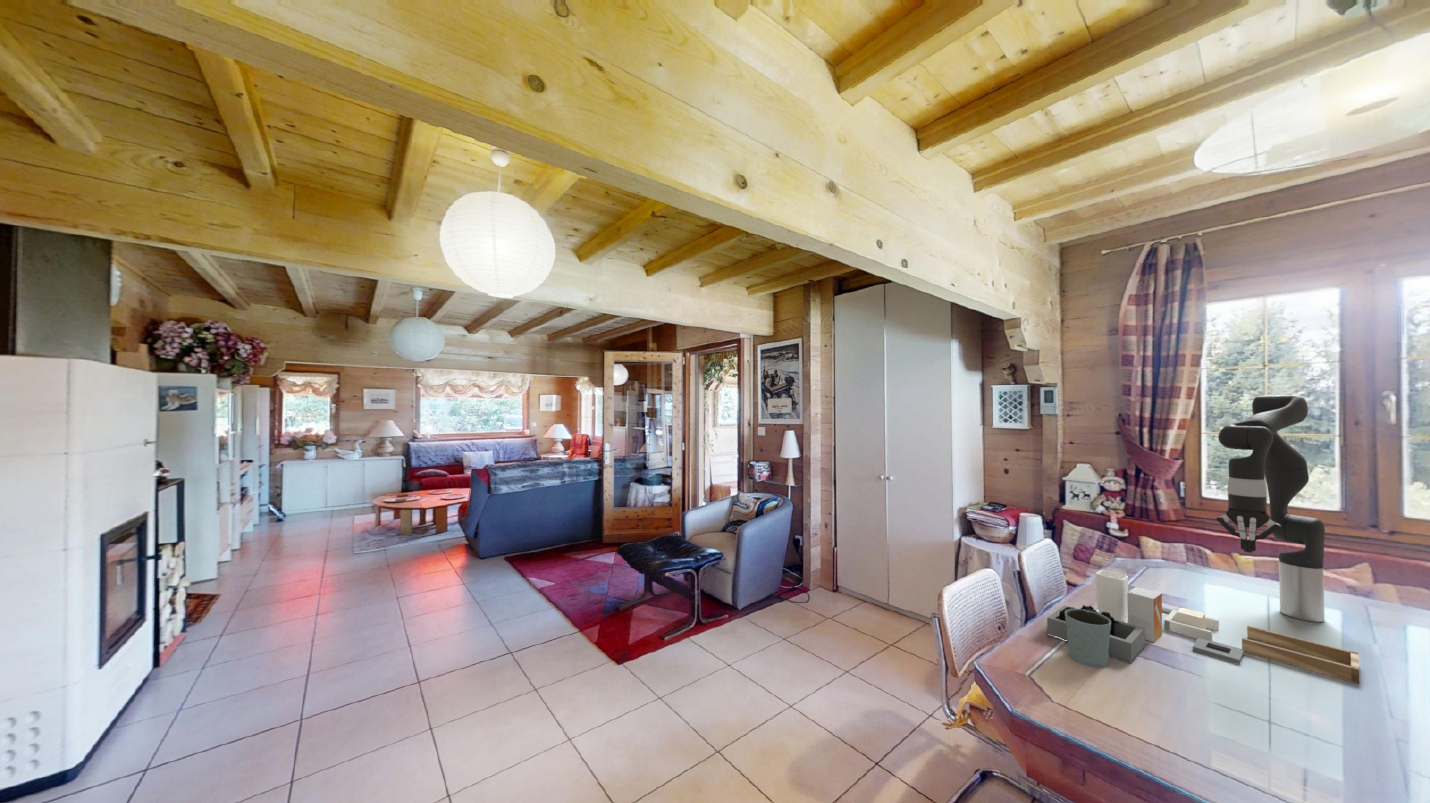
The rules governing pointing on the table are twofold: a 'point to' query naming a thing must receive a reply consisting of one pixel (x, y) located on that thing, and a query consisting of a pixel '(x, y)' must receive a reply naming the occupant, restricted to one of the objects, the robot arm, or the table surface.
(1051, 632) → the grey rectangular planter box
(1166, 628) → the cream bay
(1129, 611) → the small box
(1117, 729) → the table surface
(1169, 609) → the crook tool
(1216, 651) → the hole frame
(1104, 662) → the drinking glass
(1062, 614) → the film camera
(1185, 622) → the cream cube
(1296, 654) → the wooden u-shaped frame
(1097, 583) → the white rounded prism
